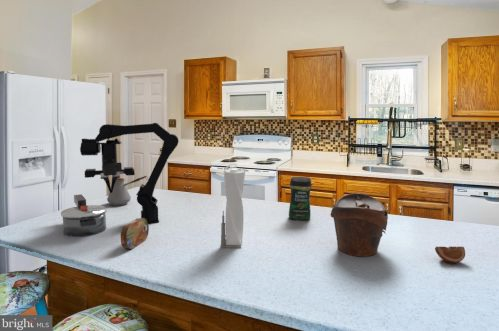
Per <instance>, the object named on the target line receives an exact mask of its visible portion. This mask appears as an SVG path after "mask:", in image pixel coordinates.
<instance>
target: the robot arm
mask: <svg viewBox="0 0 499 331" xmlns="http://www.w3.org/2000/svg"><path fill="white" fill-rule="evenodd" d="M147 133H148V134H149V133H151V134H152V133H154V134H155V135H156V136H157V137H158V138H160V140H162V141H163V143H162V148H161V151H160V155H159V156H158V157H157V158H158V159H157V160H156V162H155V165H154V167H153V169H152V172H151V174H150V176H149V177H148V178H147V179H148V180H147V182H146V183H145V184H144V183H141V185H140V186H139V189H138V192H137V193H136V196H137V197H136V201H137V203H138V204H139V205H140V206H141V210H140V218H145V219H146V220H147V222H148V224H154V223H159V222H160V219H159V207H158V205H157V204H158V199H157V198H156V197H155V196H154V192H155V187H156V185H157V182H158V181H159V178H160V176H161V174H162V172H163V169H164V167H165V166H166V163H167V162H168V160H169V157H170V156H171V154H172V153H173V152H174V151H175V149H176V148H177V147H178V144H179V141H180V140H179V138H178V136H177V135H176V134H174V133H170V132H169V131H167V130H166V129H165V128H164V127H162V126H161V125H160V124H159V123H157V122H152V123H147V124H146V123H145V124H130V125H120V124H110V123H107V124H102V125H101V127H99V130H98V134H97V135H96V137H95V138H81V142H80V147H79V150H80V155H81V156H98V155H99V154H100V153H101V170H96V168H86V169H85V170H84V178H94V177H95V176H100V179H101V180H104V182H105V185H106V187H107V189H108V191H109V193H112V192H113V188H114V185H115V182H116V180H117V178H121V175H126V176H135V175H136V174H135V168H134V167H133V166H126V167H123V168H122V162H118V150H117V145H120V144H122V141H121V140H119V138H117V137H121V136H125V135H126V136H127V135H134V134H135V135H136V134H147ZM113 138H115V139H113ZM106 139H107V140H106ZM105 140H106V141H105ZM104 141H105V142H104ZM109 176H111V182H110V177H109Z"/></svg>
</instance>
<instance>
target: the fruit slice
mask: <svg viewBox="0 0 499 331" xmlns="http://www.w3.org/2000/svg"><path fill="white" fill-rule="evenodd" d="M434 250H435V253H436V254H437V256H438V257H439V258H440V259H441V260H443V261H444V262H446V263H449V264H458V263H460V262H461V261H463V260H464V259H465V257H466V250H465V246H435V248H434Z"/></svg>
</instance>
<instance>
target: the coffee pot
mask: <svg viewBox="0 0 499 331" xmlns="http://www.w3.org/2000/svg"><path fill="white" fill-rule="evenodd" d="M144 178H145V180H146V181H148V179H149V177H148V176H147V175H144V176H141V177H139V178H136V179H133V180H132V181H129V182H127V183H125V181H126V178H122V177H120V178H117V180H116V182H115V185H114V188H113V192H112V193H110V192H109V193H108V196H107V198H106V200H107V202H108V204H110V205H111V206H115V207H117V206H124V205H127V204H128V203H130V201H131V199H132V197H131V195H130V193H129V191H128V189H127V187H126V186H128V185H131V184H133V183H137V182H139V181H141V180H144Z"/></svg>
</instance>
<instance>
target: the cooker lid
mask: <svg viewBox="0 0 499 331" xmlns="http://www.w3.org/2000/svg"><path fill="white" fill-rule="evenodd" d="M73 202H74V204H75V206H72V207H69V208H65V209H63V210H61V212H60V217H61V218H63V217H64V218H71V219H78V218H89V217H94V216H98V215H101V214H104V213H105V214H106V213H107V207H106V206H103V205H99V204H98V205H97V204H95V205H94V204H89V205H87V199H86V198H85V197H84V196H83V194H82V193H81V194H74V195H73Z"/></svg>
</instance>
